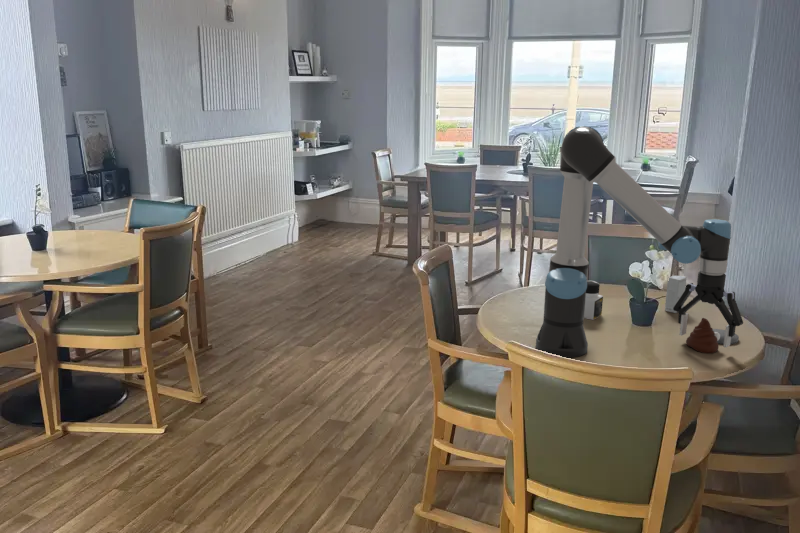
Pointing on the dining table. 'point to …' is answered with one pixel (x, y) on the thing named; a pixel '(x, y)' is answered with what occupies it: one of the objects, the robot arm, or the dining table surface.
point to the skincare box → (674, 291)
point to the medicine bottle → (593, 301)
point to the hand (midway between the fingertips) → (704, 340)
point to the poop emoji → (703, 338)
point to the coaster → (722, 336)
